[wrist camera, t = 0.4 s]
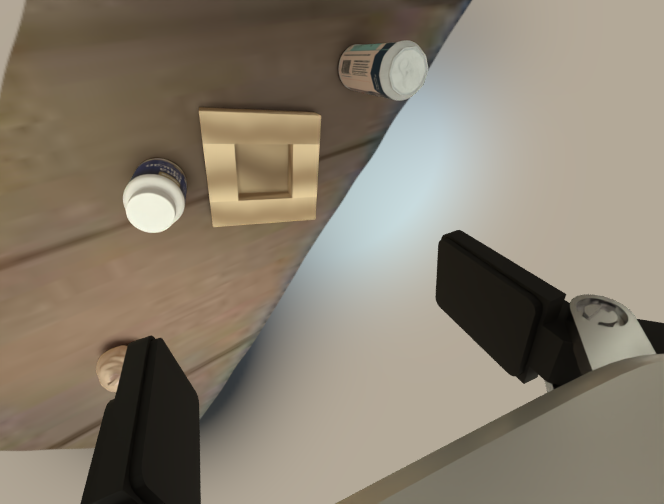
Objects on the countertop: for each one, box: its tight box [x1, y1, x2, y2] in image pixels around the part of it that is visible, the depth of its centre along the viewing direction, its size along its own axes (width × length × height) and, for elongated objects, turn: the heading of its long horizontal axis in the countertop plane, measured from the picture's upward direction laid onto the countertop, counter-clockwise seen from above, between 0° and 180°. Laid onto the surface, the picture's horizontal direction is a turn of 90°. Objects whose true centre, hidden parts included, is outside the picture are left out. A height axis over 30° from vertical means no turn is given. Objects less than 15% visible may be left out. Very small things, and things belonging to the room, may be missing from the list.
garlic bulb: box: [96, 345, 127, 392], centre depth 44 cm, size 7×6×8 cm
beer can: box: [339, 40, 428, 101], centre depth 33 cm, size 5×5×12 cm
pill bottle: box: [123, 158, 187, 233], centre depth 33 cm, size 5×5×10 cm
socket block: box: [199, 107, 321, 227], centre depth 39 cm, size 13×13×3 cm
